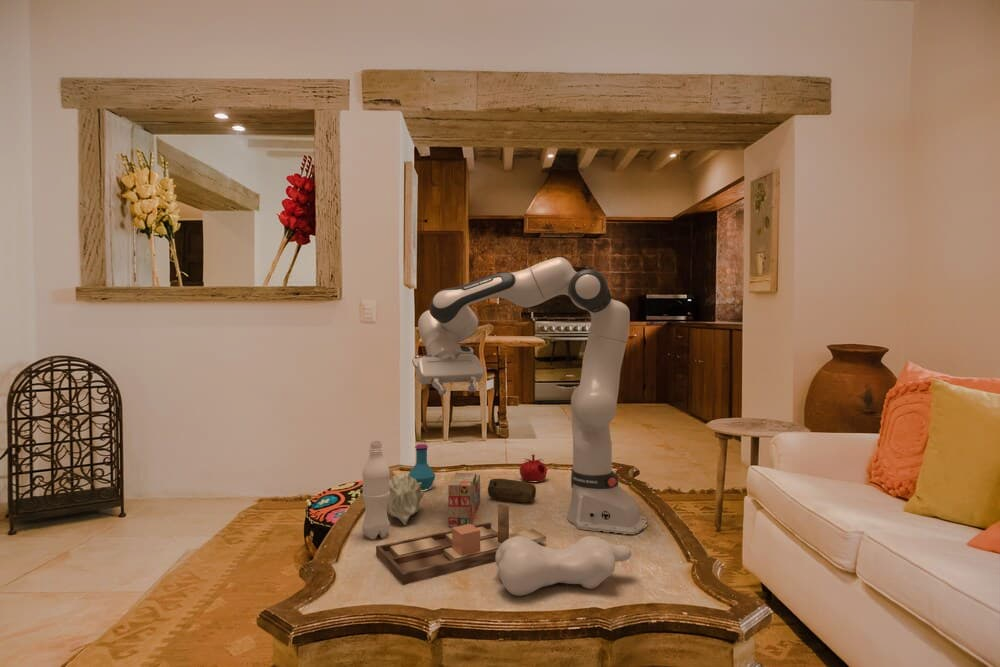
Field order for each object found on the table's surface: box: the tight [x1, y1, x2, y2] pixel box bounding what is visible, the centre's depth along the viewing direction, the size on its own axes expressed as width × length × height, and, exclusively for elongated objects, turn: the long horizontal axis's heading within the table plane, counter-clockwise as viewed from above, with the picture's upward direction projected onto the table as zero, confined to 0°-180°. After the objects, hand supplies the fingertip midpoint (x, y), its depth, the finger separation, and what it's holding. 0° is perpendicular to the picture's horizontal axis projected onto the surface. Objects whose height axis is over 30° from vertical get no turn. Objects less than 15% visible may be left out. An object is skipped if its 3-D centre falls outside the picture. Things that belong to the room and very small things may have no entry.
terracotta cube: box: [451, 524, 480, 556], centre depth 132 cm, size 5×5×5 cm
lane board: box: [375, 522, 498, 585], centre depth 135 cm, size 32×18×2 cm, turn 121°
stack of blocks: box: [447, 472, 481, 529], centre depth 163 cm, size 21×6×12 cm, turn 175°
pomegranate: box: [519, 454, 548, 482], centre depth 200 cm, size 10×10×9 cm
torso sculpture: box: [495, 535, 632, 597], centre depth 121 cm, size 16×11×30 cm
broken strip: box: [390, 526, 494, 557], centre depth 139 cm, size 26×6×1 cm, turn 121°
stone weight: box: [487, 478, 537, 503], centre depth 177 cm, size 15×7×7 cm, turn 76°
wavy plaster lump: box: [387, 474, 424, 526], centre depth 161 cm, size 18×13×16 cm
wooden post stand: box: [444, 502, 547, 561], centre depth 137 cm, size 26×6×10 cm, turn 121°
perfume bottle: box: [407, 443, 436, 490], centre depth 189 cm, size 9×9×15 cm
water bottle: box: [361, 440, 391, 540], centre depth 147 cm, size 7×7×25 cm
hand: (458, 391), depth 155 cm, fingers open, 8 cm apart
